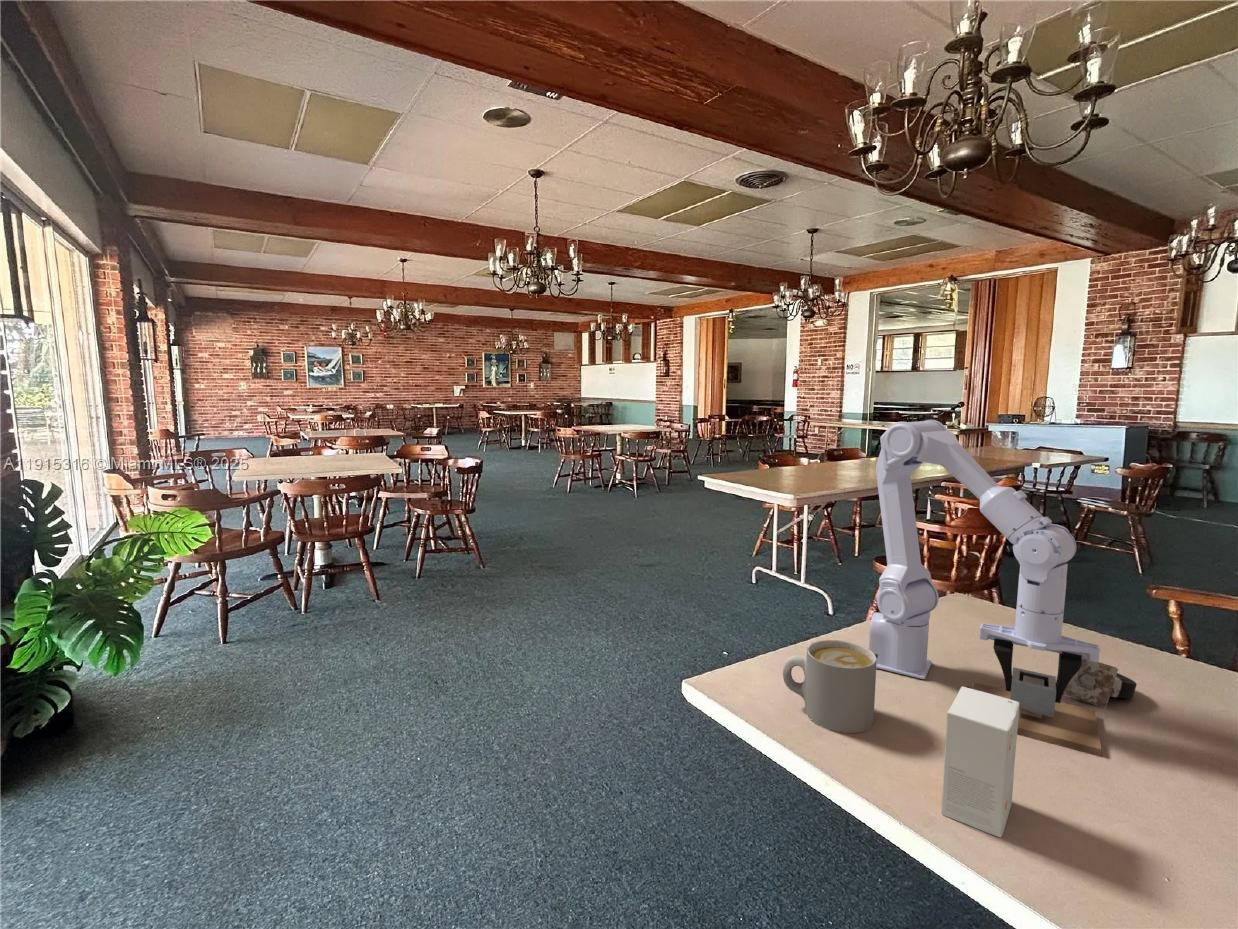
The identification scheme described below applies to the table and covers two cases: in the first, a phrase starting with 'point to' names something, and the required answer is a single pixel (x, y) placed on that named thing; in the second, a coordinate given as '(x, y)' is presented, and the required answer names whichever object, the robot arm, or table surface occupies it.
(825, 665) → the coffee mug
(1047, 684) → the square hub
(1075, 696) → the caster wheel
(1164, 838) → the table surface
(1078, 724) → the post board
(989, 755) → the small box
